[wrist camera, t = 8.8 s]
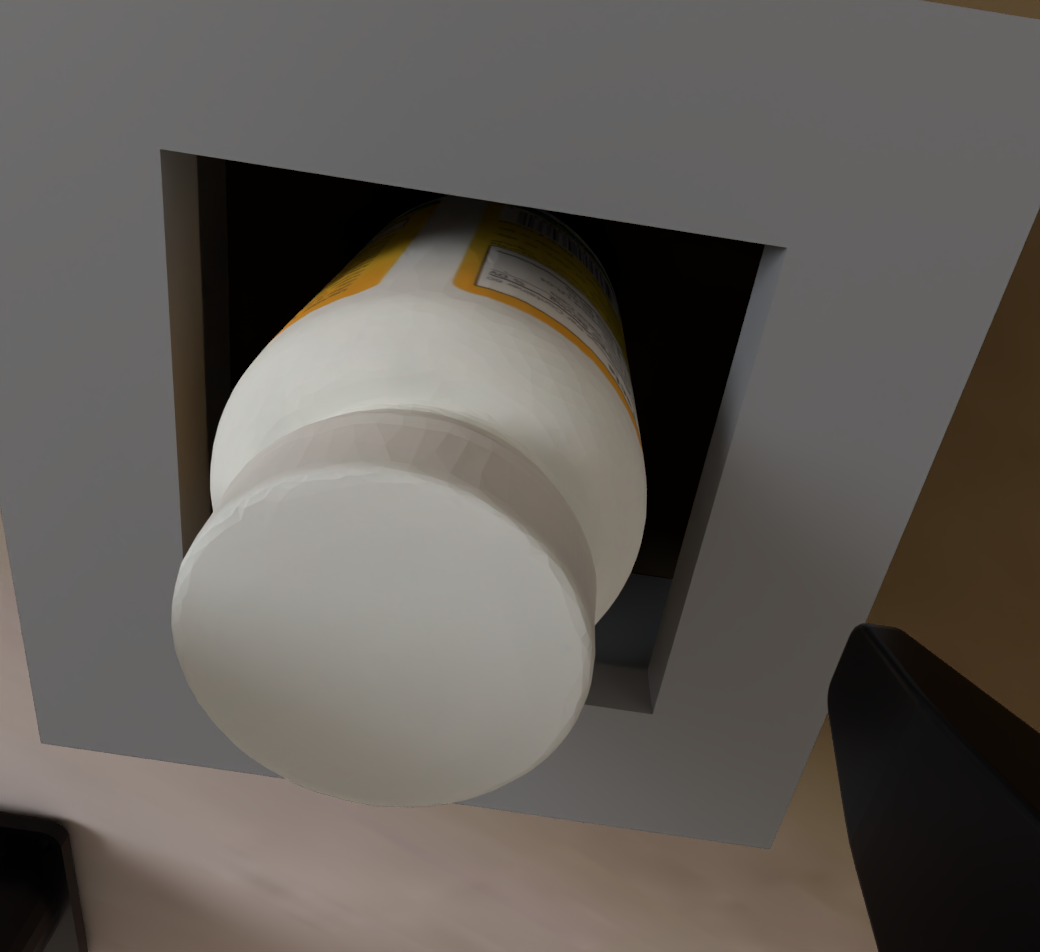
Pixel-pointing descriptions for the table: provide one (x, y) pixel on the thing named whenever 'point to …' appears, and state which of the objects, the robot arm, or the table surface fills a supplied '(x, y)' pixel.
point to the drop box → (537, 184)
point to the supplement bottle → (420, 514)
